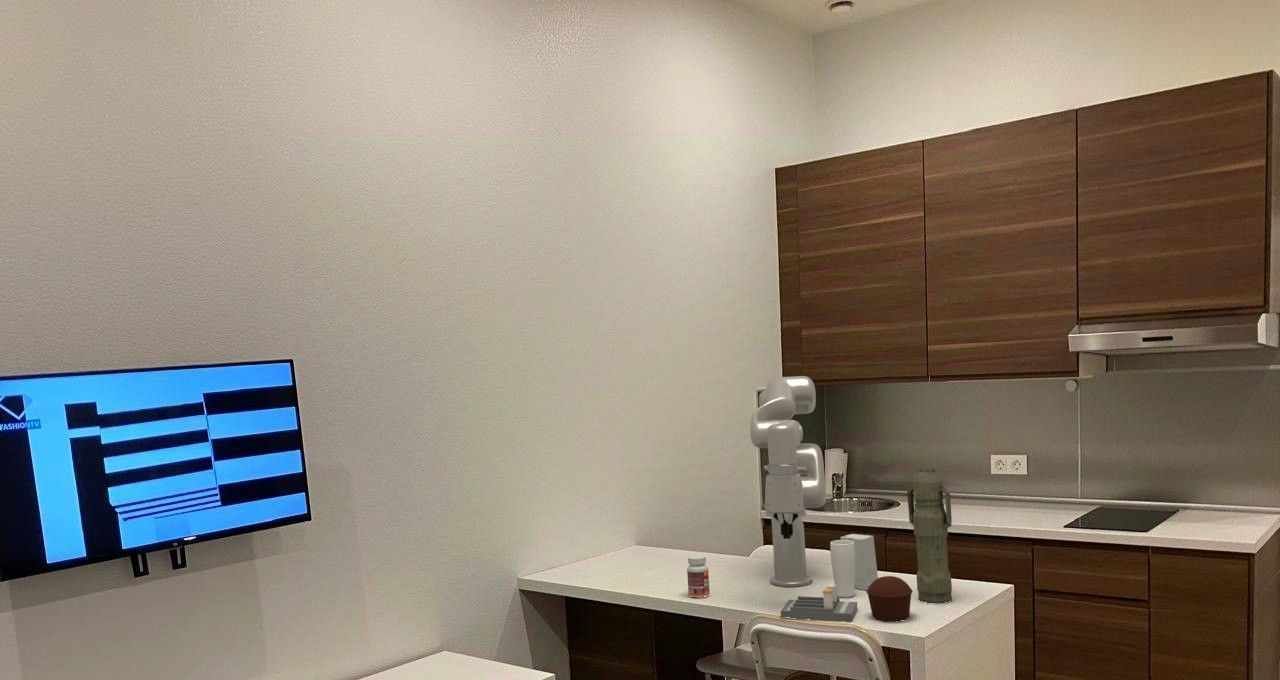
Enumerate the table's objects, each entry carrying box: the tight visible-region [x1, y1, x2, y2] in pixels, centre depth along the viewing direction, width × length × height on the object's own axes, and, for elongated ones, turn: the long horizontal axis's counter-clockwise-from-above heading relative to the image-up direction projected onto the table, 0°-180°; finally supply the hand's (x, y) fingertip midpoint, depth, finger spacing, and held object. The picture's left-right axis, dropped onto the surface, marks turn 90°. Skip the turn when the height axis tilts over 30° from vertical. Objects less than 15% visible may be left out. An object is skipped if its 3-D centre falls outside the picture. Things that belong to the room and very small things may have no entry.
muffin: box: [865, 575, 913, 623], centre depth 233 cm, size 12×11×10 cm
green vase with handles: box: [906, 468, 953, 604], centre depth 248 cm, size 9×12×35 cm
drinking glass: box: [829, 539, 856, 599], centre depth 257 cm, size 7×7×15 cm
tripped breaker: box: [822, 588, 833, 608], centre depth 235 cm, size 2×2×5 cm
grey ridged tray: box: [780, 583, 858, 623], centre depth 239 cm, size 12×18×7 cm, turn 70°
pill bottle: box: [686, 554, 711, 598], centre depth 265 cm, size 6×6×11 cm
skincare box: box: [840, 533, 879, 591], centre depth 266 cm, size 8×6×15 cm
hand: (787, 537), depth 246 cm, fingers closed
